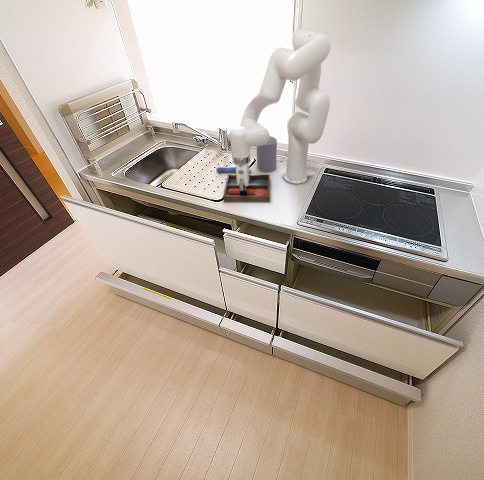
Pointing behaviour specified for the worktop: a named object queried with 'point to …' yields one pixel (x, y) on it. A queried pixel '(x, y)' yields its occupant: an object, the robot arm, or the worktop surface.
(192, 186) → the worktop surface
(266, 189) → the cutlery tray
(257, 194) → the red spoon
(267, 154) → the container
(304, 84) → the robot arm
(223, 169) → the blue spoon
